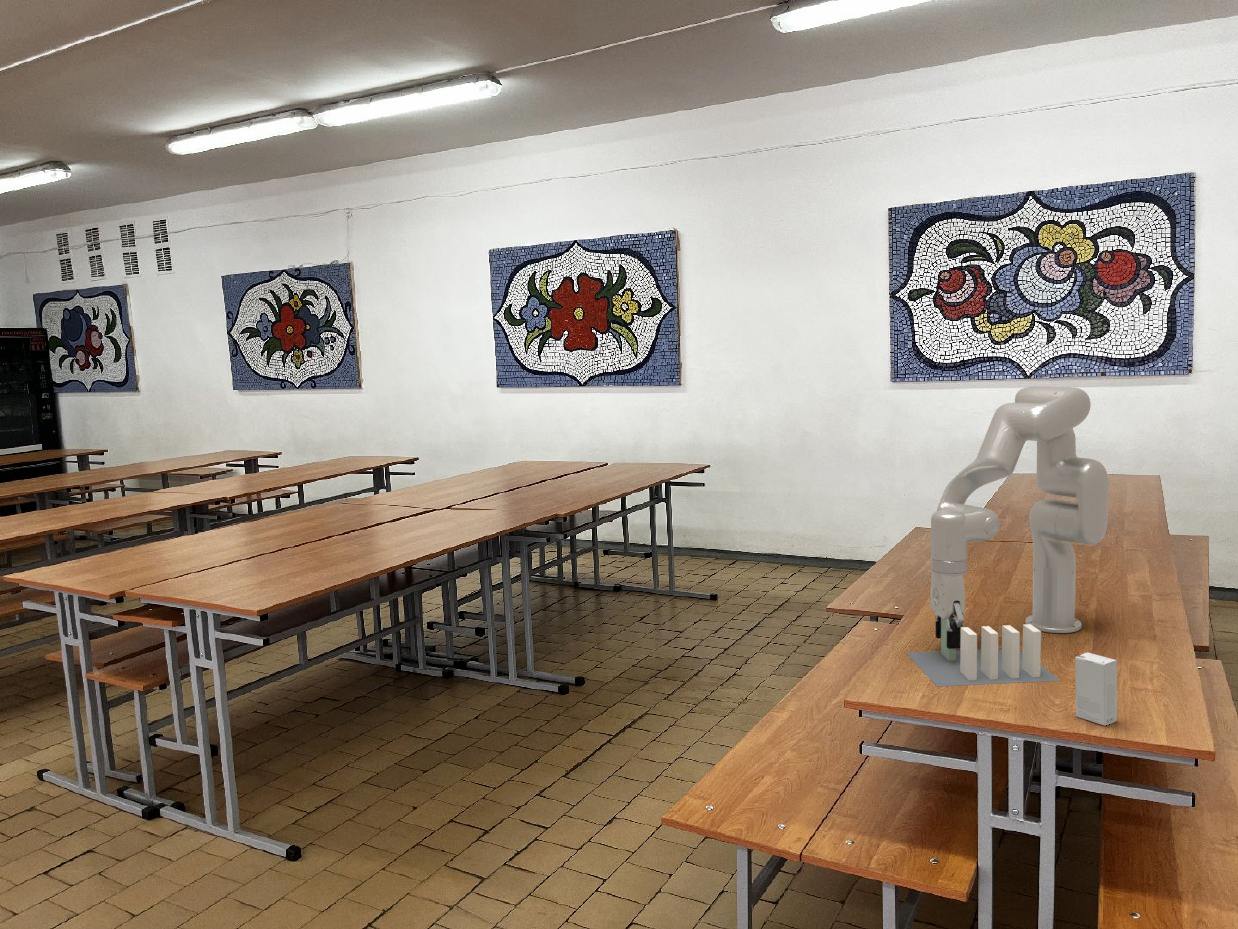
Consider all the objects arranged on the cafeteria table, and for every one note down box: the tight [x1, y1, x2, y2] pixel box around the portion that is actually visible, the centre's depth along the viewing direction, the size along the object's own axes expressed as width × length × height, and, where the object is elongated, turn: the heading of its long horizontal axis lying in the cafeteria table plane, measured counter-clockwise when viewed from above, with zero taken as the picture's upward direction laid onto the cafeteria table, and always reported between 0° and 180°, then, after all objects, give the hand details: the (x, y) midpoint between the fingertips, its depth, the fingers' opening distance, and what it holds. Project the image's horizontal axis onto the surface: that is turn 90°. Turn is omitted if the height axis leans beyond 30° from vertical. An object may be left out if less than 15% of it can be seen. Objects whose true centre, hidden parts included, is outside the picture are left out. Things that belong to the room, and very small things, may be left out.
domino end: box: [940, 615, 957, 661], centre depth 211 cm, size 2×5×10 cm, turn 0°
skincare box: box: [1074, 652, 1118, 727], centre depth 176 cm, size 6×4×12 cm
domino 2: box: [980, 625, 999, 679], centre depth 200 cm, size 2×5×10 cm, turn 0°
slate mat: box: [905, 647, 1062, 688], centre depth 206 cm, size 26×21×1 cm
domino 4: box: [1022, 623, 1042, 677], centre depth 200 cm, size 2×5×10 cm, turn 1°
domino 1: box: [960, 626, 978, 680], centre depth 200 cm, size 2×5×10 cm, turn 0°
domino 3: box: [1001, 624, 1021, 678], centre depth 200 cm, size 2×5×10 cm, turn 0°
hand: (948, 642), depth 212 cm, fingers open, 6 cm apart
